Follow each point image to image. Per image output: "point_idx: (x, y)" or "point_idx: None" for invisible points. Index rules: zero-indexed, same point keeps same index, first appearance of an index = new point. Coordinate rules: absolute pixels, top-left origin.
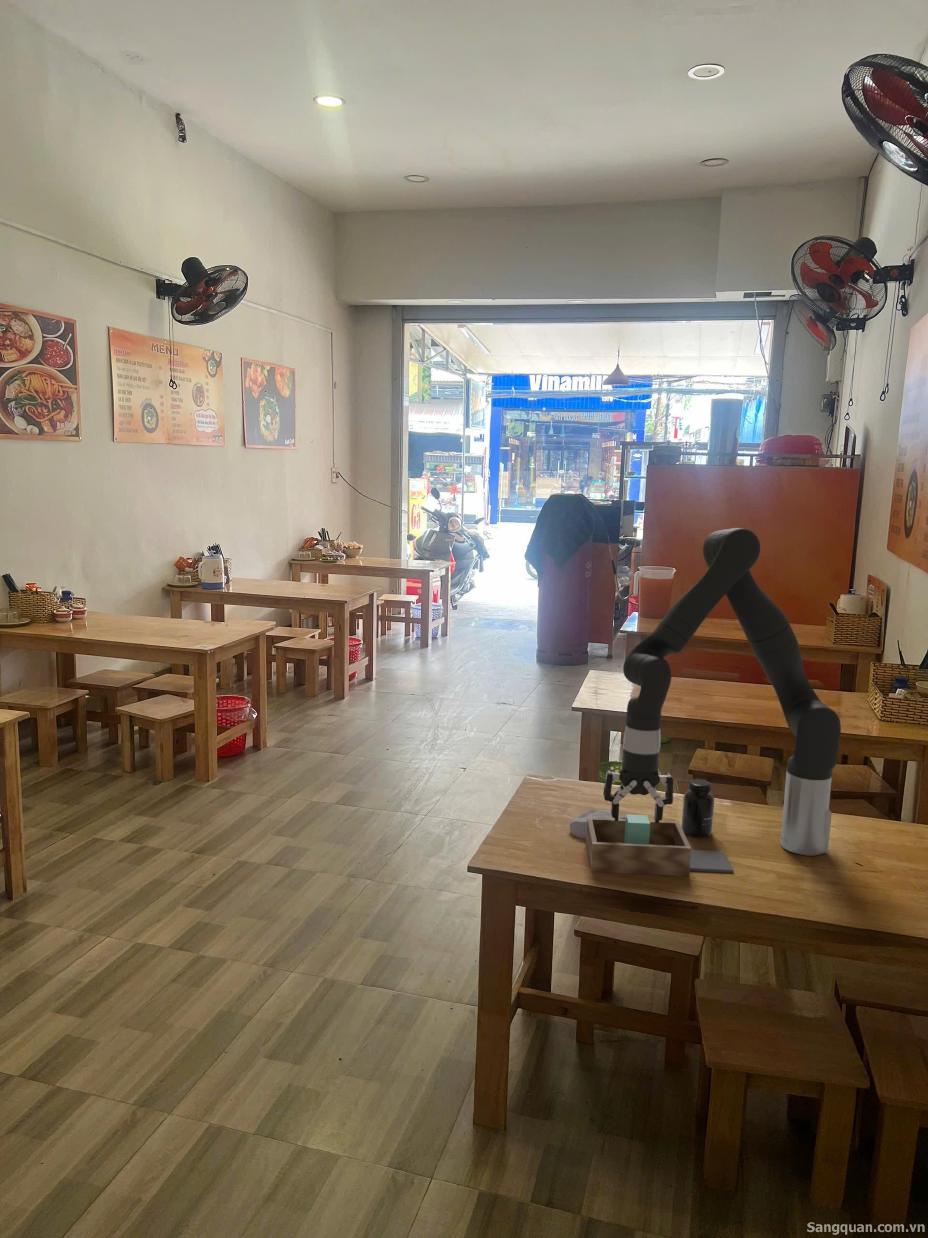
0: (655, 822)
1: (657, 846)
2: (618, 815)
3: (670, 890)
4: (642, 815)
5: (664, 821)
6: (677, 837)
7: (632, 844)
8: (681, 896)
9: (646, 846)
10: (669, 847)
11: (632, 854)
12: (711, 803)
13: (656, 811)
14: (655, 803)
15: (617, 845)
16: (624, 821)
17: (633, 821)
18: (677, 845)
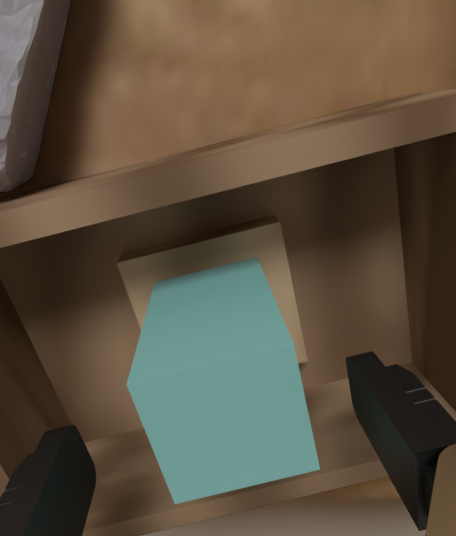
0: (353, 403)
1: (339, 483)
2: (86, 516)
3: None
4: (257, 358)
5: (398, 122)
6: (443, 226)
7: (218, 505)
8: (382, 492)
9: (286, 500)
10: None
11: None
12: None
13: (394, 481)
14: (411, 455)
15: (149, 532)
16: (113, 217)
17: (204, 479)
18: (421, 230)
